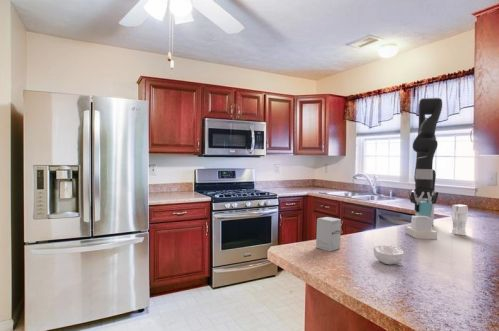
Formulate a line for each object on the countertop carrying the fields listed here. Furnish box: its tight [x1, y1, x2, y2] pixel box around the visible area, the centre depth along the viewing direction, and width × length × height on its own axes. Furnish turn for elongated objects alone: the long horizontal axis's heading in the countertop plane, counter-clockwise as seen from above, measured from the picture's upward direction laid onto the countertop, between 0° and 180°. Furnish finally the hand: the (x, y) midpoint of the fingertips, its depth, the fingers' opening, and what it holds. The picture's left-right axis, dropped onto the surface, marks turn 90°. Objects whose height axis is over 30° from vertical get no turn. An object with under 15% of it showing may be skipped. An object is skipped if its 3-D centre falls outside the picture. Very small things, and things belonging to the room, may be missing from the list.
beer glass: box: [451, 204, 469, 236], centre depth 155 cm, size 7×7×15 cm
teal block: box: [414, 201, 431, 215], centre depth 149 cm, size 5×5×6 cm
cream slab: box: [405, 226, 438, 240], centre depth 149 cm, size 10×10×4 cm
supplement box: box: [315, 216, 342, 252], centre depth 125 cm, size 7×7×13 cm
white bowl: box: [372, 244, 404, 265], centre depth 109 cm, size 10×12×7 cm
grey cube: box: [410, 215, 433, 231], centre depth 149 cm, size 7×7×6 cm
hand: (422, 211), depth 149 cm, fingers closed on teal block, 5 cm apart
